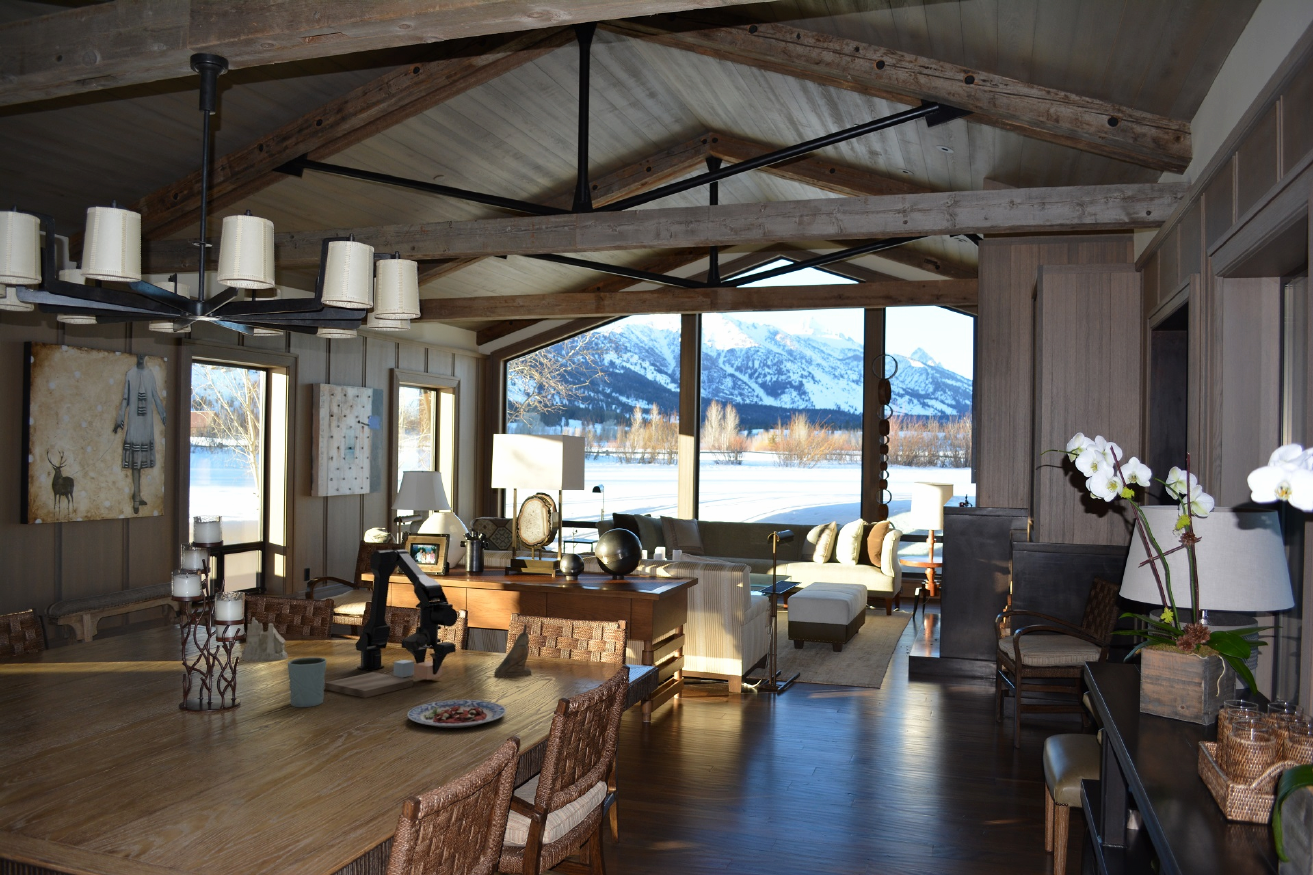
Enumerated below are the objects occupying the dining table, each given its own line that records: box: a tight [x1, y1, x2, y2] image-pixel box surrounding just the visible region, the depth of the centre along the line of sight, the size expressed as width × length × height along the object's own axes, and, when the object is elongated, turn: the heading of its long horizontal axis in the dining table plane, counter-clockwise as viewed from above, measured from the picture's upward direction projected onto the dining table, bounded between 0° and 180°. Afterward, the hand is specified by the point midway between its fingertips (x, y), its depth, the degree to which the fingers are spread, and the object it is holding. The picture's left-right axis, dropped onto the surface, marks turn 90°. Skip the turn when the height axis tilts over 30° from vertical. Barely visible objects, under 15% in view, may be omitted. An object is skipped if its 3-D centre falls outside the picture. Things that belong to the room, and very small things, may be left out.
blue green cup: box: [287, 656, 327, 708], centre depth 262 cm, size 10×10×12 cm
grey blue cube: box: [392, 659, 415, 678], centre depth 299 cm, size 4×4×4 cm
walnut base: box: [324, 671, 414, 699], centre depth 281 cm, size 18×18×2 cm
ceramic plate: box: [407, 699, 507, 729], centre depth 247 cm, size 26×26×3 cm
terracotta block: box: [413, 660, 443, 680], centre depth 292 cm, size 6×6×4 cm
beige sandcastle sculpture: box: [240, 616, 288, 662], centre depth 326 cm, size 16×16×15 cm
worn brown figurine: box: [494, 623, 532, 678], centre depth 302 cm, size 12×6×18 cm, turn 106°
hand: (427, 672), depth 292 cm, fingers closed on terracotta block, 6 cm apart
